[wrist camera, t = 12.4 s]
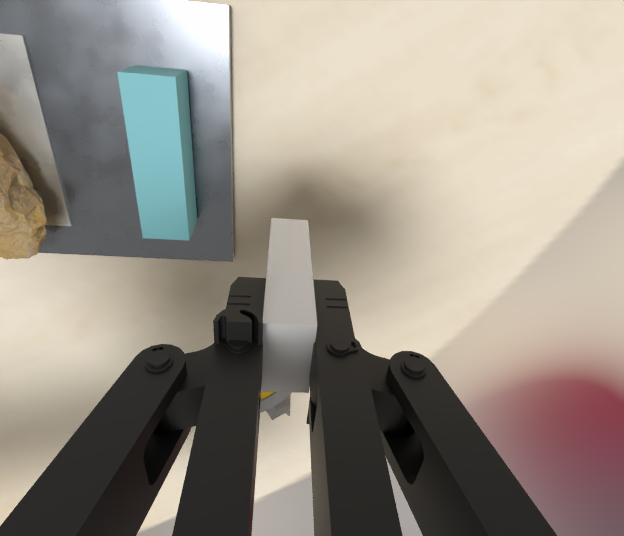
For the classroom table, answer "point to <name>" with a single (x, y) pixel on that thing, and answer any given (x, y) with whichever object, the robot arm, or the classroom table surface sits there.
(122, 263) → the classroom table surface
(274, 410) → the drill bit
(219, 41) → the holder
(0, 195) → the stone tool
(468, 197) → the classroom table surface
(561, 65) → the classroom table surface
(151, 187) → the bar
